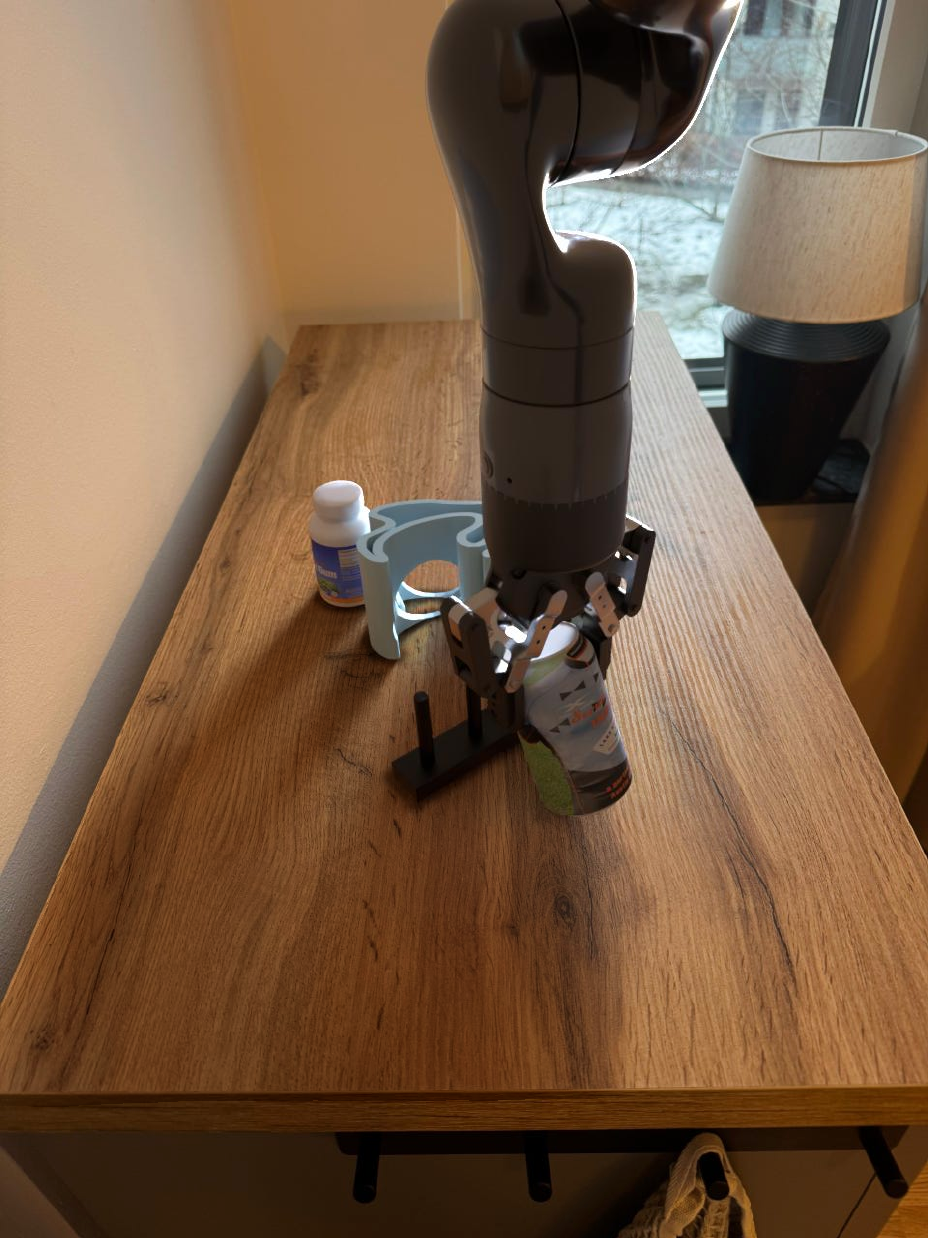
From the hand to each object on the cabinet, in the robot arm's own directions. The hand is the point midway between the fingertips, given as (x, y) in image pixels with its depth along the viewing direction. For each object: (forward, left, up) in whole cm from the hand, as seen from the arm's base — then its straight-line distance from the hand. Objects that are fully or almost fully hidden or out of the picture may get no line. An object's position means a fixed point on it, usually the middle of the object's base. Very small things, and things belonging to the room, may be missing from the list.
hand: (550, 698), depth 57 cm
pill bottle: (+27, -1, -8) cm, 28 cm away
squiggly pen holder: (+16, -6, -8) cm, 19 cm away
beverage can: (-3, 0, -7) cm, 8 cm away
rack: (+5, 0, -8) cm, 9 cm away
